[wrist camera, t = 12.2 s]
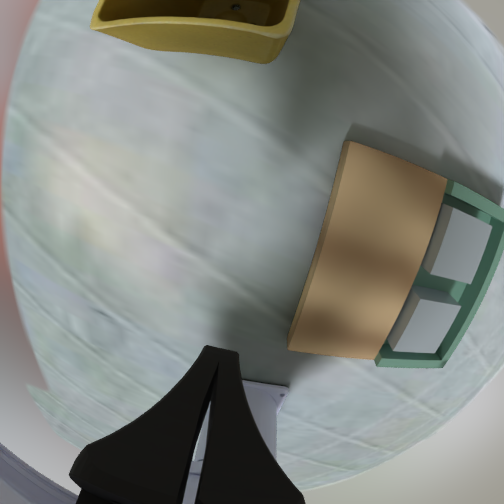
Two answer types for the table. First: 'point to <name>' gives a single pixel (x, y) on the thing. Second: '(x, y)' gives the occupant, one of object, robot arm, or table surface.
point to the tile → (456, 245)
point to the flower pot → (201, 25)
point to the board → (366, 253)
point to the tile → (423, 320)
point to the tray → (456, 282)
